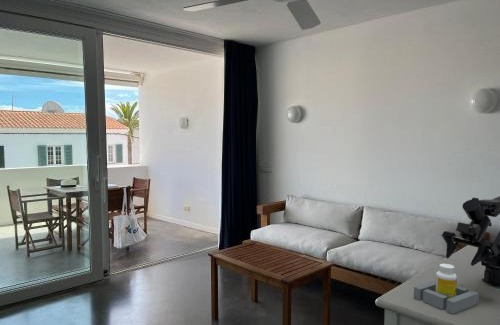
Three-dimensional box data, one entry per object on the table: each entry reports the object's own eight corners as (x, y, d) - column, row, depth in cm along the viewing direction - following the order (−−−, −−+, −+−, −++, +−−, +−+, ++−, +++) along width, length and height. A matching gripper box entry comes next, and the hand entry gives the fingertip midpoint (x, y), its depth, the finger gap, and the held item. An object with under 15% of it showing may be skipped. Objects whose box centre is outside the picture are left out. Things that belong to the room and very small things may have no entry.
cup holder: (438, 289, 150) (439, 279, 149) (478, 304, 137) (478, 292, 136) (413, 297, 142) (414, 287, 142) (453, 314, 129) (453, 302, 129)
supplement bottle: (458, 305, 135) (460, 269, 134) (438, 304, 137) (439, 268, 136) (452, 297, 142) (454, 263, 141) (433, 296, 143) (434, 262, 142)
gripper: (445, 210, 152) (426, 242, 147) (496, 219, 136) (477, 255, 131) (456, 227, 156) (438, 259, 151) (506, 238, 140) (488, 274, 135)
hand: (458, 261), depth 142 cm, fingers open, 9 cm apart
